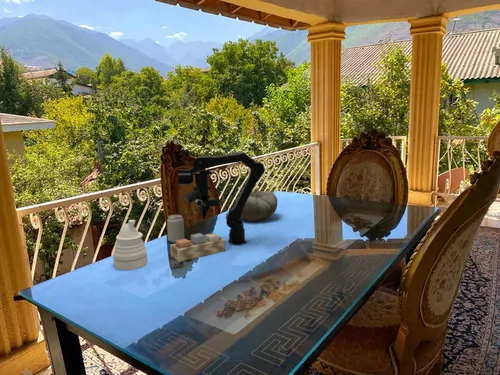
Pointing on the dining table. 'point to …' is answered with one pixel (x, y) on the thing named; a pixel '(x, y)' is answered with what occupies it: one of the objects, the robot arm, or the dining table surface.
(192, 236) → the slate key
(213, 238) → the ivory key
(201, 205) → the robot arm
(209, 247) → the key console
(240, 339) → the dining table surface
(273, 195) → the gourd
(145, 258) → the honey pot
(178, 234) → the can
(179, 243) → the salmon rounded block
